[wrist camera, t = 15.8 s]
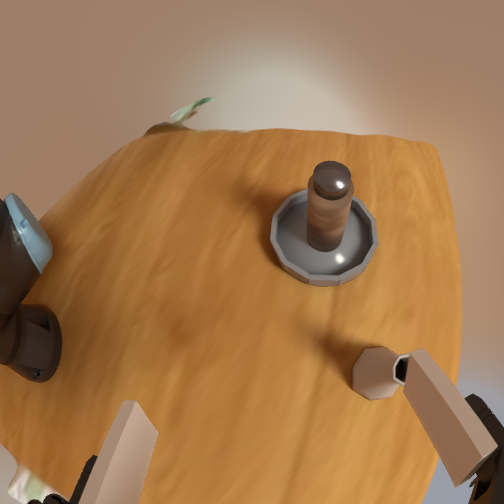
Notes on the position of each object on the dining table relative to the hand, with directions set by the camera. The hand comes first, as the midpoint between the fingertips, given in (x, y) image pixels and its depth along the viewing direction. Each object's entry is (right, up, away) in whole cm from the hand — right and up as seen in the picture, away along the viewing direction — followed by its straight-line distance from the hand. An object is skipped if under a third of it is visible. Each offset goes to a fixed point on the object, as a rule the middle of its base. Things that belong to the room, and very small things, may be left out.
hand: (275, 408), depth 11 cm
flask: (+15, -8, +19) cm, 25 cm away
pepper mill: (+9, +9, +28) cm, 31 cm away
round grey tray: (+9, +9, +28) cm, 31 cm away
